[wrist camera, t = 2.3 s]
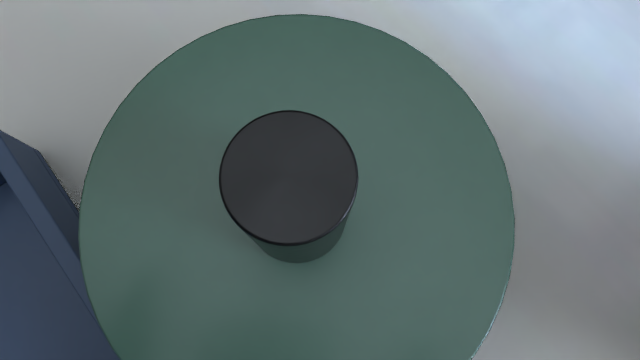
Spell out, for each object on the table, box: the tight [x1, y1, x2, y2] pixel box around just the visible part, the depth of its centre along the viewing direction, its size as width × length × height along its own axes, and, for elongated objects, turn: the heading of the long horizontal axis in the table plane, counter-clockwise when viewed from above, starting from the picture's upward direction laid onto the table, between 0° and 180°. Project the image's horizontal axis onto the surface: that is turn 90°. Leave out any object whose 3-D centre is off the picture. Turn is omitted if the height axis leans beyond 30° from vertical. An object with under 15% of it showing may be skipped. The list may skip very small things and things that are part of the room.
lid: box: [78, 14, 515, 360], centre depth 12 cm, size 11×11×5 cm
